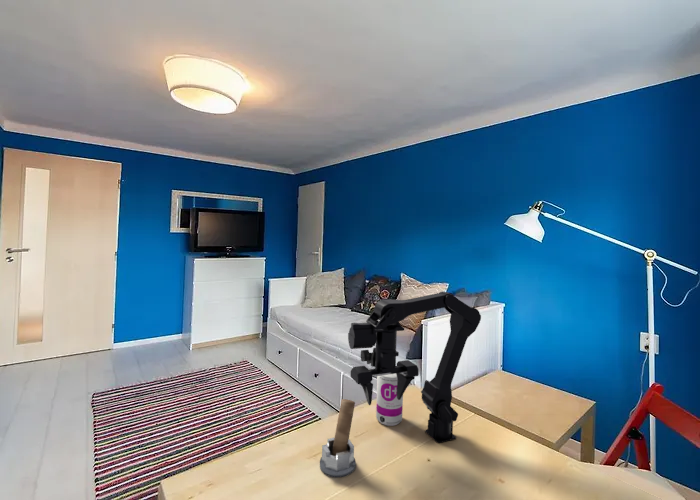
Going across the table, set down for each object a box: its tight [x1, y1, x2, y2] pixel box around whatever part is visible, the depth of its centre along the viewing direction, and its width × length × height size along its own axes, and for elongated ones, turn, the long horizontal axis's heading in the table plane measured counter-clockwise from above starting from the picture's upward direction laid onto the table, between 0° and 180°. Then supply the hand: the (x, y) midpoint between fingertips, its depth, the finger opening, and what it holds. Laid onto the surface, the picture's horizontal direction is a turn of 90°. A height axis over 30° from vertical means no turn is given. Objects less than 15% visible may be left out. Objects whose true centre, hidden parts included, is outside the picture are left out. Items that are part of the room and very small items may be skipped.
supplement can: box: [375, 373, 404, 427], centre depth 110 cm, size 8×8×15 cm
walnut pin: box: [331, 398, 356, 456], centre depth 88 cm, size 4×4×14 cm
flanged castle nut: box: [319, 437, 356, 479], centre depth 87 cm, size 9×9×5 cm
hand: (384, 401), depth 96 cm, fingers open, 9 cm apart
